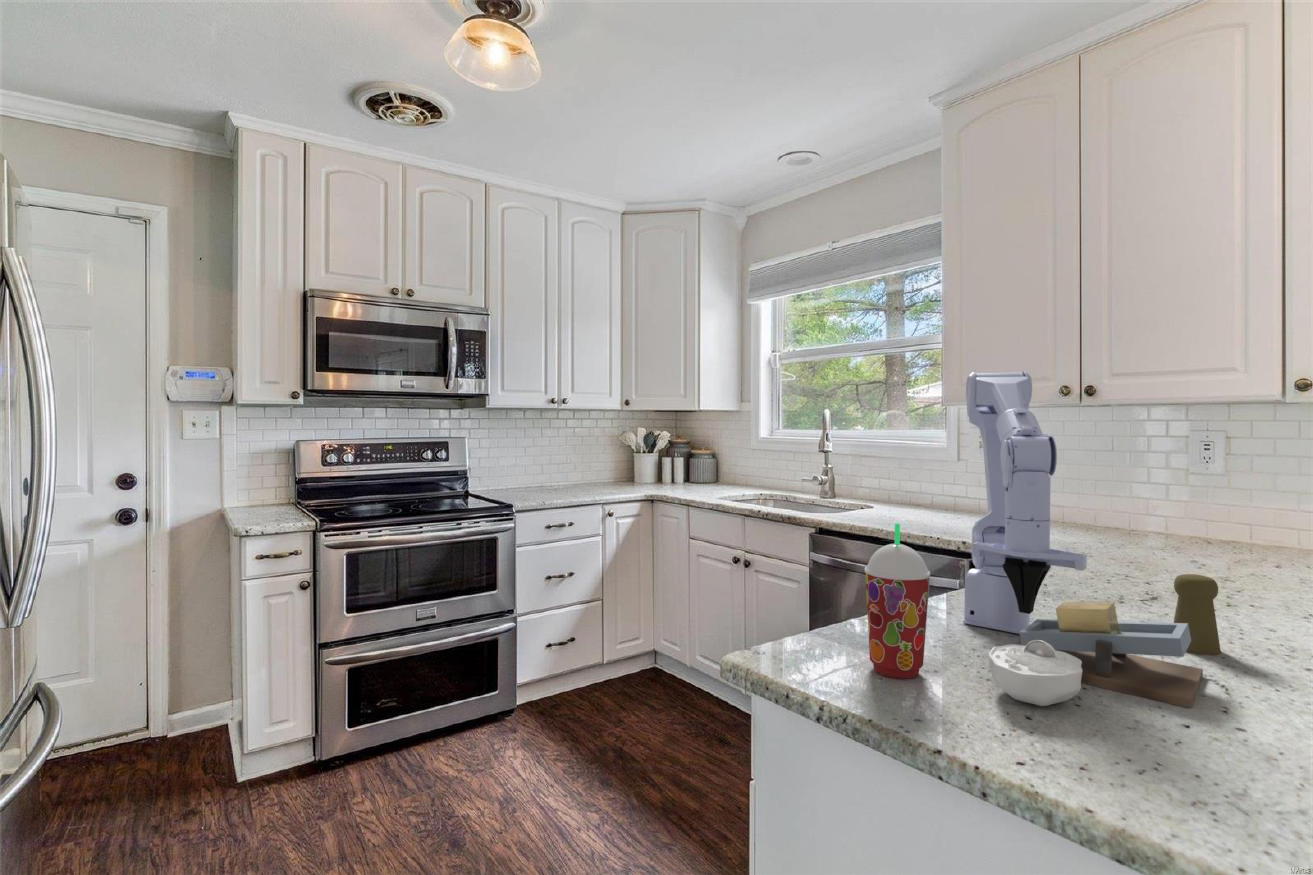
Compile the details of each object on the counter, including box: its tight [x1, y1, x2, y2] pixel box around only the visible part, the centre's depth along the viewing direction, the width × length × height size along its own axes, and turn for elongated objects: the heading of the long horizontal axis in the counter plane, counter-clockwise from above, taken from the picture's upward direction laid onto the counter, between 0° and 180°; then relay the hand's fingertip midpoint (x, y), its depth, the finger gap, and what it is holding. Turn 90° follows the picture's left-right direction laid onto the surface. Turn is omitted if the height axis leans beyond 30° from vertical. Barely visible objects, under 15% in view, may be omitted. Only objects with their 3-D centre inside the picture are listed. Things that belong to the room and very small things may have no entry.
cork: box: [1173, 573, 1222, 656], centre depth 99 cm, size 6×6×11 cm
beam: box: [1019, 618, 1191, 658], centre depth 90 cm, size 18×9×2 cm, turn 46°
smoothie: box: [864, 523, 931, 680], centre depth 89 cm, size 8×8×20 cm
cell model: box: [988, 640, 1083, 707], centre depth 80 cm, size 10×12×7 cm
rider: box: [1055, 601, 1120, 634], centre depth 91 cm, size 6×5×4 cm
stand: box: [1057, 640, 1204, 709], centre depth 90 cm, size 20×14×5 cm
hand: (1026, 611), depth 96 cm, fingers closed
